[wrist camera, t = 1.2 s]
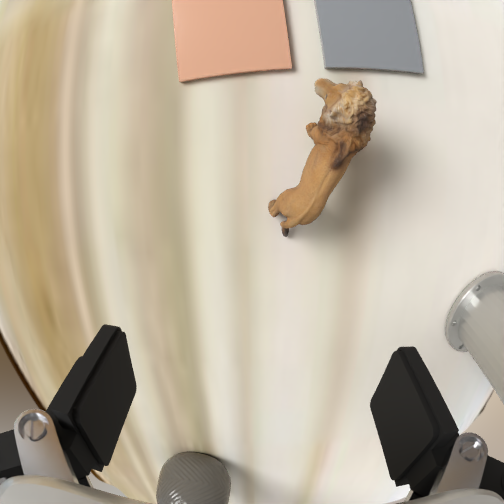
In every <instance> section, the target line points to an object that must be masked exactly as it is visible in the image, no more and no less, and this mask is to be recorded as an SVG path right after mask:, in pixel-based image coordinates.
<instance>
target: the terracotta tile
mask: <svg viewBox="0 0 504 504" xmlns="http://www.w3.org/2000/svg"><path fill="white" fill-rule="evenodd" d="M172 8H173V21H174V33H175V45H176V55H177V65H178V75H179V82H185V81H191V80H196V79H202V78H209V77H215V76H222V75H230V74H238V73H247V72H257V71H269V70H283V69H292V64H291V55H290V48H289V40H288V33H287V26H286V19H285V12H284V6H283V0H172Z"/></svg>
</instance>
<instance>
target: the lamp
mask: <svg viewBox="0 0 504 504" xmlns="http://www.w3.org/2000/svg"><path fill="white" fill-rule="evenodd" d="M230 488H231V479H230V476H229V473H228V471H227V469H226V468H225V466H224V465H223V464H222V463H221V462H220V461H219V460H217V459H215V458H214V457H211V456H209V455H206V454H202V453H196V452H184V453H179V454H176V455H174V456H173V457H171V458H170V459H168V460H167V461H166V462H165V463H164V465H163V467H162V469H161V471H160V475H159V480H158V486H157V494H156V498H157V503H158V504H228V502H229V496H230Z"/></svg>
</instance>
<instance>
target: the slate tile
mask: <svg viewBox="0 0 504 504" xmlns="http://www.w3.org/2000/svg"><path fill="white" fill-rule="evenodd" d="M314 3H315V9H316V14H317V20H318V26H319V32H320V39H321V46H322V52H323V60H324V67H325V68H351V69H374V70H389V71H400V72H410V73H418V74H422V73H424V71H423V64H422V57H421V50H420V44H419V39H418V33H417V28H416V23H415V18H414V14H413V9H412V5H411V1H410V0H314Z"/></svg>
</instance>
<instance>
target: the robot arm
mask: <svg viewBox="0 0 504 504" xmlns="http://www.w3.org/2000/svg"><path fill="white" fill-rule="evenodd" d="M445 332H446V338H447V340H448V342H449V343H450V345H451V346H452V347H453V348H454V349H455V350H457V351H461V352H467V351H469V352H470V354H471V355H472V357H473V358H474V360H475V361H476V363H477V364H478V365H479V367H480V368H481V370H482V371H483V373H484V374H485V376H486V377H487V379H488V380H489V382H490V383H491V385H492V387H493V388H494V390H495V391H496V393H497V394H498V396H499V398H500V399H501V401H502V402H503V404H504V273H502V272H498V271H493V272H488V273H486V274H483V275H481V276H480V277H478V278H476V279H475V280H474V281H473V282H471V283H470V284H469V285H468V286H467V287H466V288H465V289H464V290H463V291H462V293H461V294H460V295H459V297H458V298H457V299H456V301H455V303H454V304H453V306H452V308H451V310H450V312H449V315H448V318H447V321H446V328H445ZM135 393H136V381H135V377H134V372H133V368H132V363H131V358H130V354H129V349H128V344H127V338H126V334H125V332H122V331H121V328H120V327H117V326H111V325H103V326H102V327H101V329H100V330H99V332H98V333H97V335H96V336H95V338H94V339H93V341H92V342H91V344H90V346H89V347H88V349H87V350H86V352H85V353H84V355H83V356H81V357H79V358H78V360H77V361H76V362H75V364H74V366H73V367H72V369H71V370H70V372H69V374H68V375H67V377H66V378H65V380H64V382H63V383H62V385H61V387H60V388H59V390H58V392H57V393H56V395H55V397H54V398H53V400H52V402H51V403H50V405H49V407H48V409H47V410H46V412H44V411H42V410H39V409H30V410H27V411H25V412H23V413H22V414H21V415H19V416H18V418H17V419H16V421H15V424H14V430H10V431H7V432H4V433H1V434H0V504H151V503H147V502H142V501H138V500H134V499H130V498H126V497H121V496H118V495H114V494H111V493H107V492H104V491H101V490H97V489H94V488H93V486H92V484H91V482H90V479H89V477H88V475H89V474H90V471H91V469H94V470H97V471H100V472H102V470H103V467H104V465H105V466H108V465H109V463H110V460H111V458H112V455H113V452H114V449H115V446H116V444H117V441H118V438H119V435H120V433H121V430H122V427H123V425H124V422H125V419H126V417H127V414H128V411H129V409H130V406H131V403H132V401H133V398H134V396H135ZM370 408H371V412H372V415H373V418H374V421H375V425H376V428H377V431H378V435H379V438H380V442H381V445H382V449H383V452H384V456H385V459H386V463H387V467H388V470H389V474H390V477H391V479H392V480H395V484H396V487H397V486H402V485H406V484H409V485H410V489H411V490H410V491H409V493H408V495H407V497H406V499H405V501H404V502H402V503H397V504H504V463H503V462H500V461H499V460H496V459H494V458H492V457H490V456H488V448H487V445H486V443H485V441H484V440H483V439H482V438H481V437H480V436H478V435H477V434H474V433H464V434H461V435H460V436H459V434H458V431H459V430H458V428H457V426H456V423H455V421H454V419H453V417H452V415H451V413H450V411H449V409H448V407H447V405H446V403H445V401H444V399H443V397H442V395H441V393H440V391H439V390H438V388H437V386H436V384H435V382H434V380H433V378H432V376H431V375H430V373H429V371H428V369H427V367H426V365H425V364H424V362H423V360H422V358H421V356H420V355H419V353H418V351H417V349H416V348H415V347H399V348H398V349H397V351H395V352H393V354H392V356H391V359H390V361H389V363H388V365H387V368H386V370H385V372H384V374H383V376H382V378H381V381H380V383H379V385H378V387H377V389H376V391H375V393H374V395H373V397H372V399H371V402H370Z"/></svg>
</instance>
